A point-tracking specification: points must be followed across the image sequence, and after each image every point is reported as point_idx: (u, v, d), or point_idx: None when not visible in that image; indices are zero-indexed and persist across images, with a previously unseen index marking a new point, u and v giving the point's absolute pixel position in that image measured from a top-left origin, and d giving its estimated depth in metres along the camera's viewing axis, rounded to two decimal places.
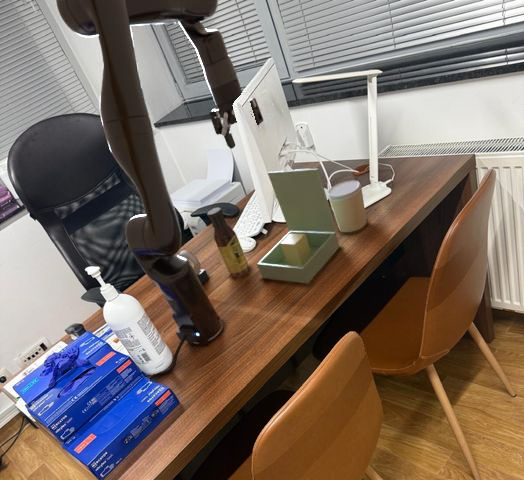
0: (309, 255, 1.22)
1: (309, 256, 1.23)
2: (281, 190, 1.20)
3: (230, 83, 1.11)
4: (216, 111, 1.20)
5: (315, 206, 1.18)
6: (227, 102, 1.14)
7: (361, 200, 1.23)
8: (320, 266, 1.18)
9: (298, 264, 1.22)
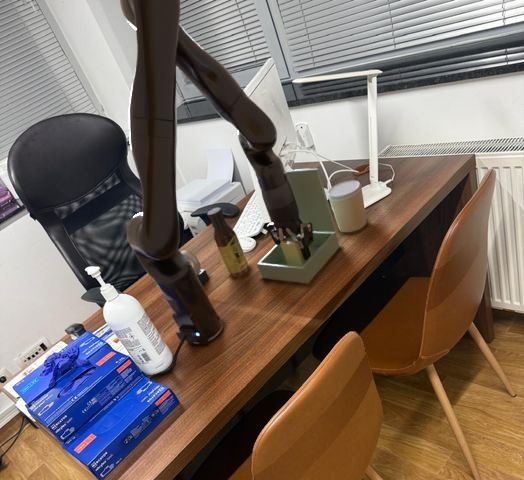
0: None
1: None
2: None
3: (286, 206, 1.10)
4: (272, 225, 1.20)
5: (315, 206, 1.18)
6: (282, 223, 1.13)
7: (361, 200, 1.23)
8: (320, 266, 1.18)
9: (298, 264, 1.22)
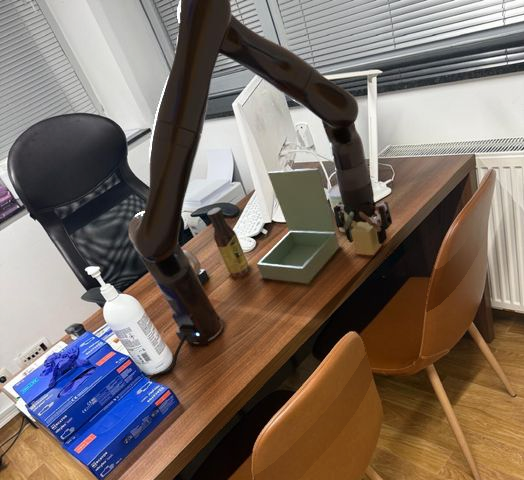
0: None
1: (380, 245, 1.16)
2: (281, 190, 1.20)
3: (363, 188, 1.03)
4: (341, 207, 1.13)
5: (315, 206, 1.18)
6: (356, 205, 1.06)
7: None
8: (320, 266, 1.18)
9: (369, 253, 1.15)
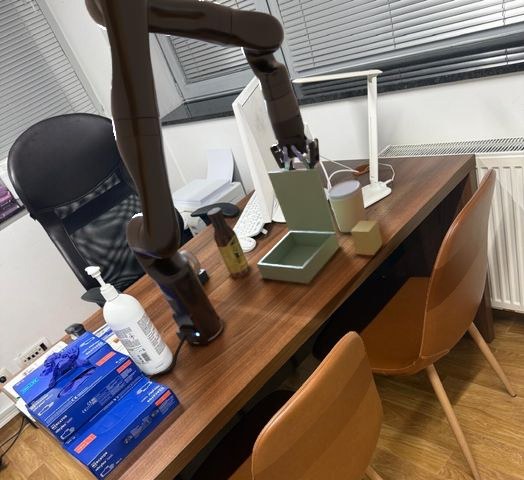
0: (380, 243, 1.16)
1: (380, 245, 1.16)
2: (281, 190, 1.20)
3: (291, 119, 1.06)
4: (276, 145, 1.15)
5: (315, 206, 1.18)
6: (287, 138, 1.08)
7: (361, 200, 1.23)
8: (320, 266, 1.18)
9: (369, 253, 1.15)
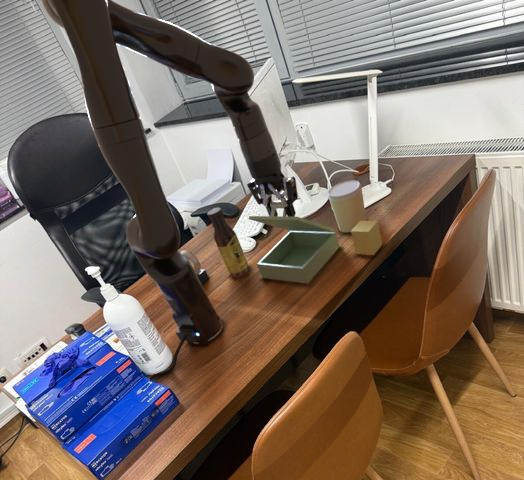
0: (380, 243, 1.16)
1: (380, 245, 1.16)
2: (268, 222, 1.19)
3: (266, 159, 1.02)
4: (253, 182, 1.12)
5: (307, 227, 1.17)
6: (262, 177, 1.05)
7: (361, 200, 1.23)
8: (320, 266, 1.18)
9: (369, 253, 1.15)
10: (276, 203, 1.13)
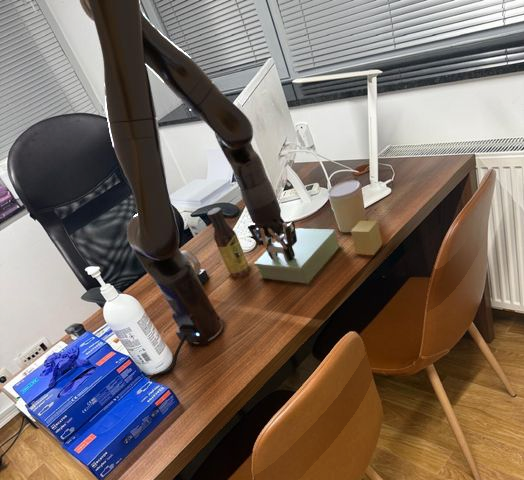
0: (380, 243, 1.16)
1: (380, 245, 1.16)
2: None
3: (266, 206, 1.05)
4: (254, 224, 1.15)
5: None
6: (263, 223, 1.08)
7: (361, 200, 1.23)
8: (320, 266, 1.18)
9: (369, 253, 1.15)
10: (274, 250, 1.16)
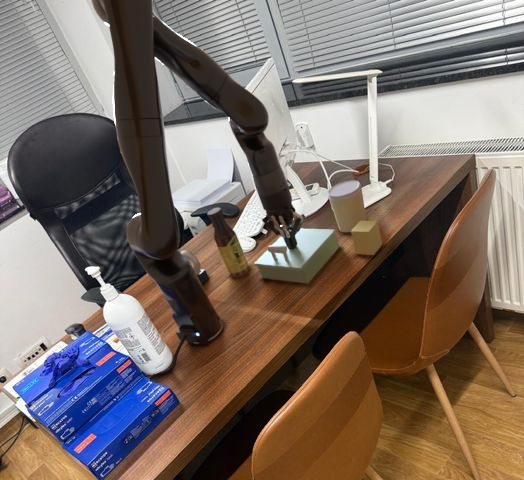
0: (380, 243, 1.16)
1: (380, 245, 1.16)
2: None
3: (278, 193, 1.07)
4: (266, 215, 1.17)
5: None
6: (274, 210, 1.10)
7: (361, 200, 1.23)
8: (320, 266, 1.18)
9: (369, 253, 1.15)
10: (274, 250, 1.16)
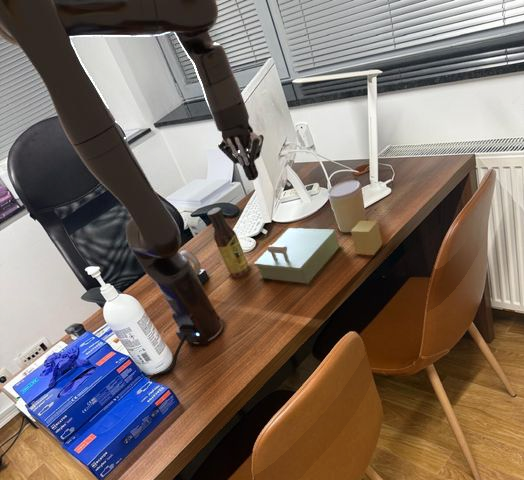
0: (380, 243, 1.16)
1: (380, 245, 1.16)
2: None
3: (232, 107, 0.95)
4: (223, 140, 1.05)
5: None
6: (228, 128, 0.98)
7: (361, 200, 1.23)
8: (320, 266, 1.18)
9: (369, 253, 1.15)
10: (274, 250, 1.16)
